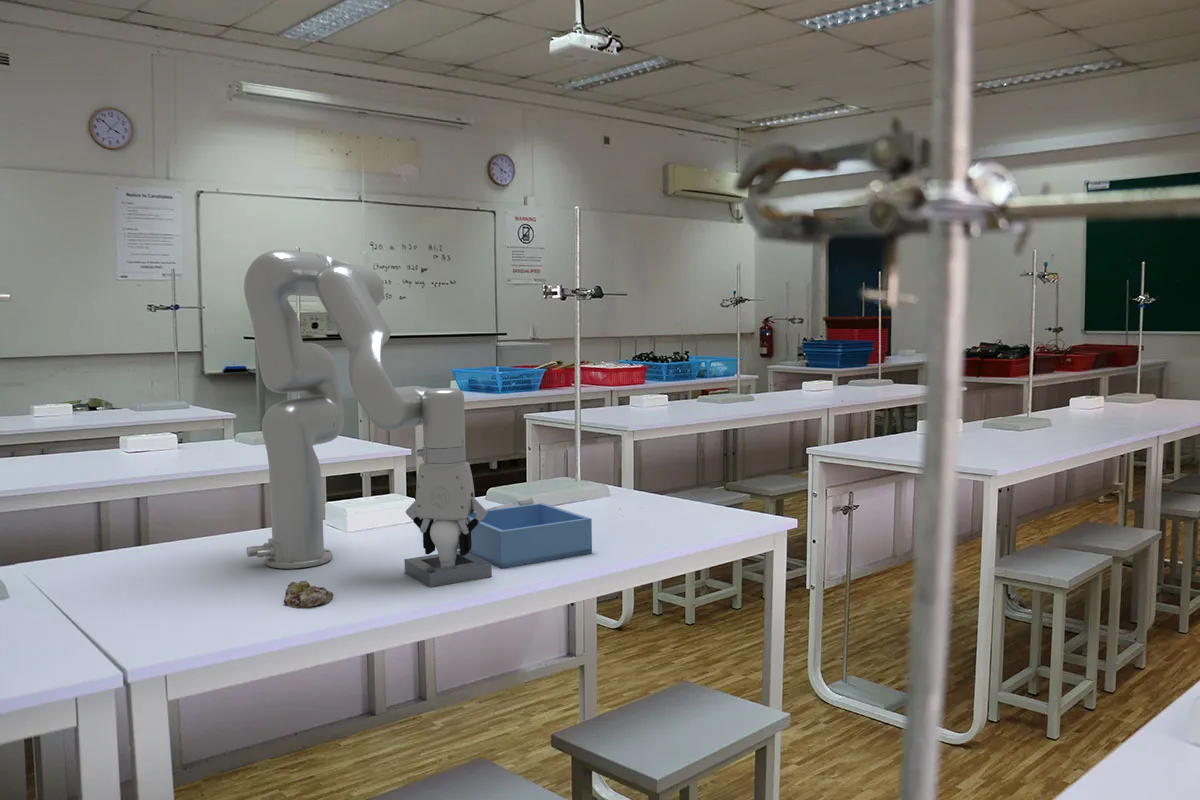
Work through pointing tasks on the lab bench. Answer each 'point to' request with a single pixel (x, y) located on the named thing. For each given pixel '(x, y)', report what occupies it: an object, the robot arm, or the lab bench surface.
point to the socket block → (447, 569)
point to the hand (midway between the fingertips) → (447, 552)
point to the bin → (530, 535)
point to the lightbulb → (446, 540)
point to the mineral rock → (306, 595)
